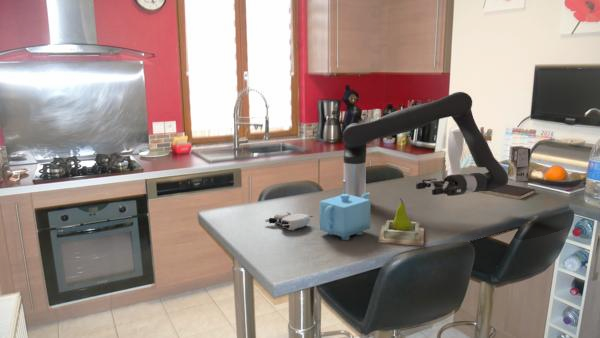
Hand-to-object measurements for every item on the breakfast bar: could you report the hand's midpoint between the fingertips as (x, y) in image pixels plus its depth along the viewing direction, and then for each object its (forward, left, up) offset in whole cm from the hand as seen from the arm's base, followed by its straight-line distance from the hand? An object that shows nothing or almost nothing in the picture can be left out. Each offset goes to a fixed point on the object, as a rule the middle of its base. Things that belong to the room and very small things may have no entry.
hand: (424, 189), depth 157 cm
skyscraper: (+13, +73, -14) cm, 75 cm away
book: (+33, +56, -14) cm, 66 cm away
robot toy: (-47, -10, -14) cm, 50 cm away
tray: (-7, -12, -14) cm, 19 cm away
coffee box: (+44, +82, -14) cm, 94 cm away
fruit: (-7, -12, -13) cm, 19 cm away
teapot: (-25, -12, -14) cm, 31 cm away
